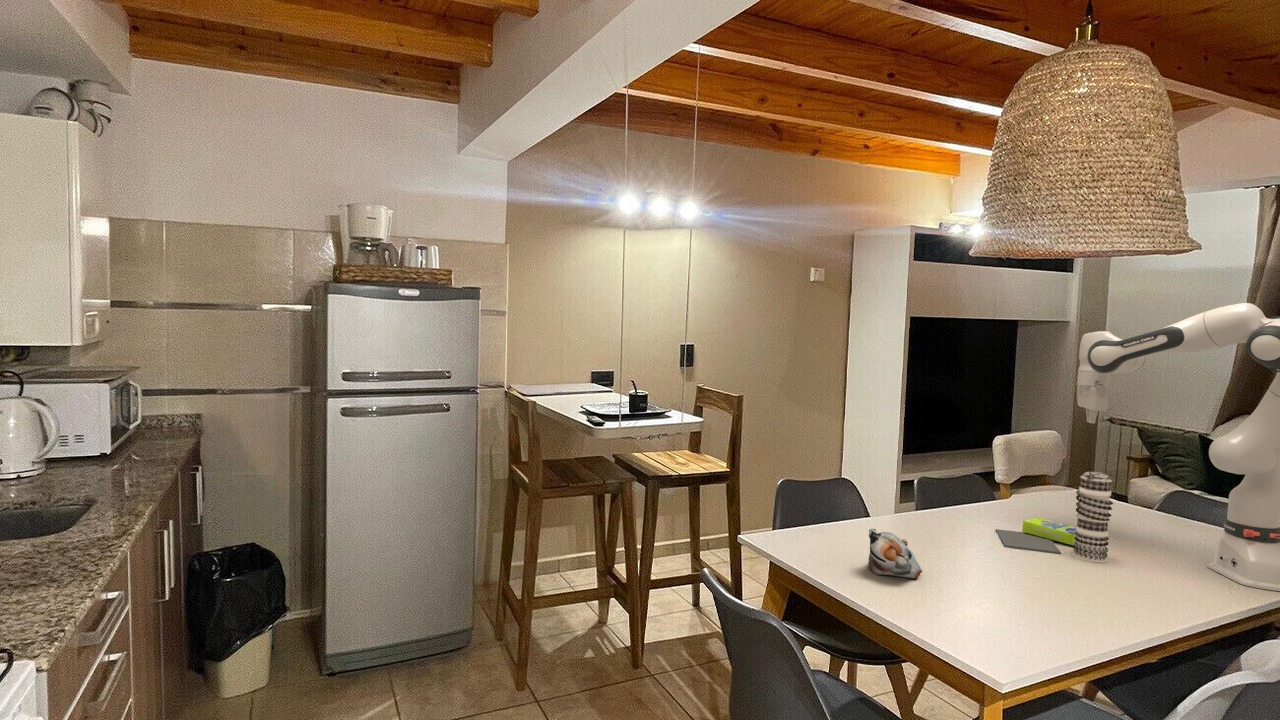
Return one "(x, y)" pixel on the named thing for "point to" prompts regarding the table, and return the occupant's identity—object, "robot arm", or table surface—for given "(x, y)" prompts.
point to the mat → (1027, 541)
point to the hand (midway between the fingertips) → (1091, 422)
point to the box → (1050, 530)
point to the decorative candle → (1093, 517)
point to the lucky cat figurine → (891, 556)
